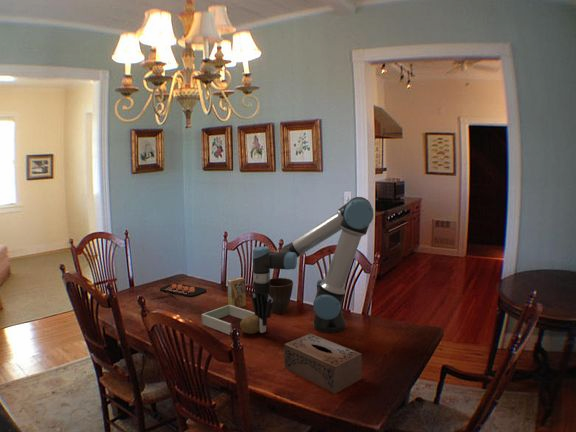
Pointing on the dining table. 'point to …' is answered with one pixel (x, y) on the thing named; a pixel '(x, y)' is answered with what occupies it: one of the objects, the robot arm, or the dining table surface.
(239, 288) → the candy box
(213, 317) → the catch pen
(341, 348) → the tissue box cover
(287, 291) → the plant pot
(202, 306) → the dining table surface
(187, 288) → the sushi plate
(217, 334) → the dining table surface
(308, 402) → the dining table surface
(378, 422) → the dining table surface
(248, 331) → the potato
